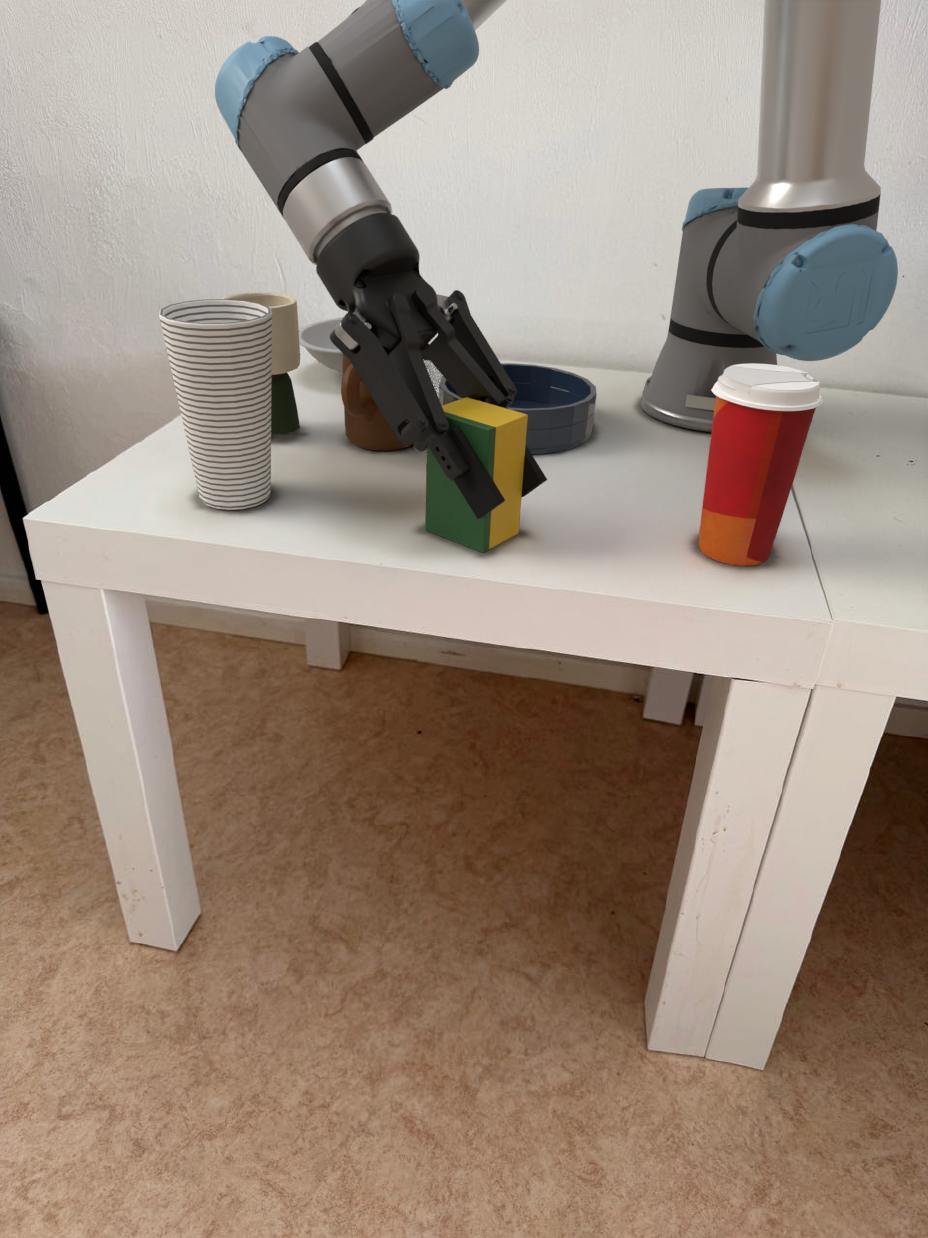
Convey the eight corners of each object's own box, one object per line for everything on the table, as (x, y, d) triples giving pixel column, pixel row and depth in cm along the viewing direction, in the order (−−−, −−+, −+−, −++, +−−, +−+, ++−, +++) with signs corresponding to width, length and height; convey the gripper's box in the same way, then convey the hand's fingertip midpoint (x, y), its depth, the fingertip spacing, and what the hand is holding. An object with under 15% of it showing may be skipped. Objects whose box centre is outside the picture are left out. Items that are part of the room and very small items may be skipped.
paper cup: (764, 529, 75) (803, 362, 67) (797, 573, 68) (844, 393, 61) (673, 528, 74) (702, 359, 67) (696, 571, 68) (731, 390, 60)
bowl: (535, 395, 104) (538, 356, 102) (622, 439, 92) (628, 397, 90) (412, 414, 97) (412, 373, 94) (490, 464, 85) (492, 419, 83)
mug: (386, 473, 82) (385, 371, 77) (312, 461, 84) (306, 361, 79) (431, 432, 92) (432, 339, 87) (363, 422, 94) (361, 331, 89)
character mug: (259, 412, 95) (248, 285, 89) (321, 419, 94) (315, 291, 87) (211, 446, 86) (195, 308, 80) (280, 455, 85) (269, 315, 78)
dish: (389, 402, 100) (388, 357, 97) (273, 387, 103) (270, 343, 101) (439, 362, 114) (439, 322, 112) (336, 350, 118) (334, 311, 115)
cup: (271, 472, 81) (257, 295, 73) (297, 508, 75) (285, 319, 67) (176, 485, 78) (150, 301, 70) (195, 523, 72) (168, 327, 64)
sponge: (462, 512, 75) (466, 396, 70) (519, 533, 72) (528, 414, 67) (424, 530, 72) (426, 410, 67) (483, 553, 69) (489, 429, 64)
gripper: (406, 259, 77) (547, 488, 77) (242, 287, 65) (409, 558, 65) (455, 198, 71) (607, 445, 71) (287, 216, 59) (469, 513, 59)
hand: (512, 498), depth 68 cm, fingers closed on sponge, 5 cm apart
